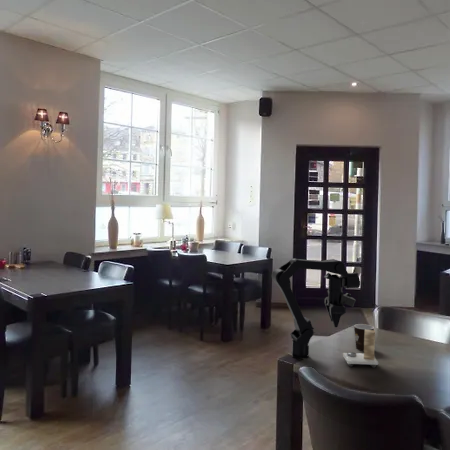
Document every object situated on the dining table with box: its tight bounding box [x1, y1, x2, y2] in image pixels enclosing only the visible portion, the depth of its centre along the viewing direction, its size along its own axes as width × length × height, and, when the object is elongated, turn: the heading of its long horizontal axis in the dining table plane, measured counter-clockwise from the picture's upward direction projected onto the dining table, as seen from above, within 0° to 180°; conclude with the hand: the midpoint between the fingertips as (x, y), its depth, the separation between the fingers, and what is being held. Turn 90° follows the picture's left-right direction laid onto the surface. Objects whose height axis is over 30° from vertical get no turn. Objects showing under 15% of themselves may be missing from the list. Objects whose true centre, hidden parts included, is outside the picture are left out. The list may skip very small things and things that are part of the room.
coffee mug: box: [353, 323, 375, 352], centre depth 206 cm, size 12×9×10 cm
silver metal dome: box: [346, 351, 356, 357], centre depth 188 cm, size 4×4×1 cm
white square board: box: [342, 352, 379, 369], centre depth 186 cm, size 12×10×3 cm
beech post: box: [363, 329, 376, 360], centre depth 185 cm, size 4×4×11 cm
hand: (334, 324), depth 197 cm, fingers open, 9 cm apart
